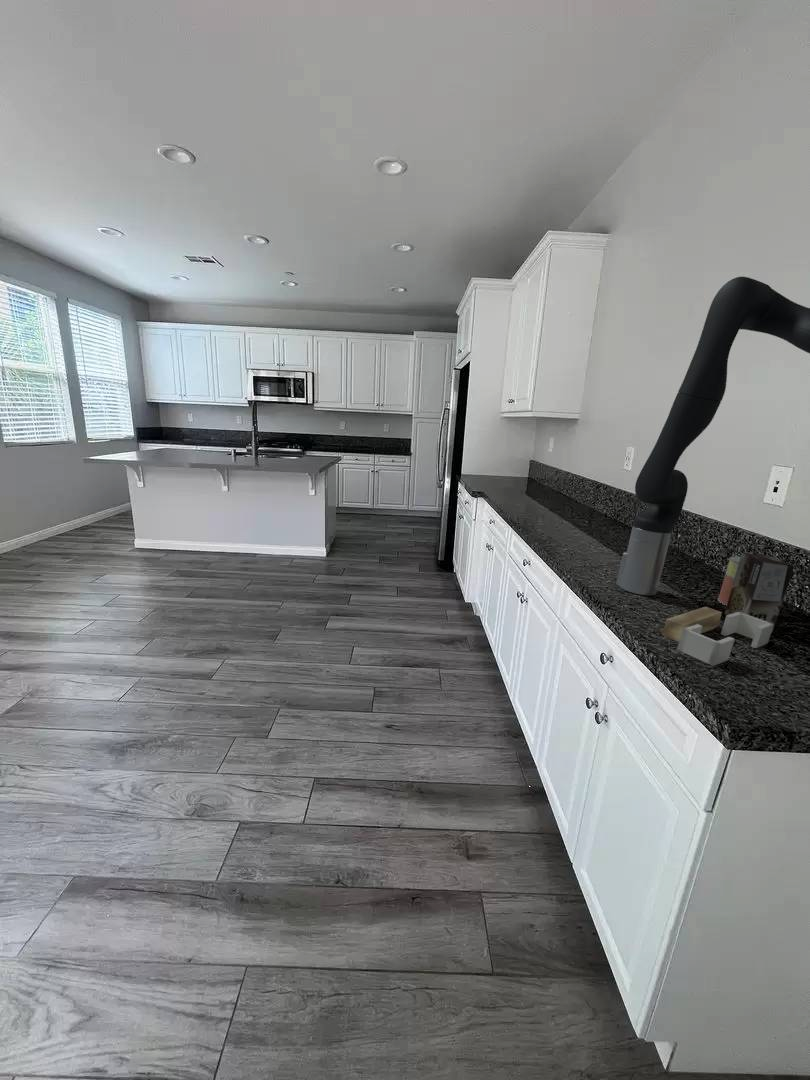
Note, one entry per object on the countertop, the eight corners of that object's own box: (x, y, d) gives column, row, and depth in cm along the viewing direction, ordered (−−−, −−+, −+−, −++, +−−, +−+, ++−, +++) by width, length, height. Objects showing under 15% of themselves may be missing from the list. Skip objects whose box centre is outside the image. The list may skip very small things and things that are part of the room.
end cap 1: (677, 649, 86) (682, 628, 85) (692, 644, 89) (697, 624, 88) (713, 666, 81) (720, 644, 80) (728, 660, 84) (734, 638, 83)
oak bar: (661, 636, 92) (666, 619, 91) (701, 622, 102) (705, 606, 101) (678, 643, 90) (683, 625, 89) (717, 628, 100) (721, 612, 99)
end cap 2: (767, 643, 93) (774, 624, 92) (755, 648, 90) (762, 628, 89) (732, 630, 99) (738, 611, 97) (720, 634, 96) (726, 615, 94)
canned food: (748, 615, 109) (762, 570, 106) (707, 598, 119) (719, 556, 116) (781, 614, 112) (795, 570, 109) (738, 597, 122) (750, 556, 119)
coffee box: (774, 633, 99) (796, 566, 95) (742, 628, 100) (763, 561, 96) (751, 617, 108) (771, 555, 104) (722, 613, 109) (741, 551, 105)
